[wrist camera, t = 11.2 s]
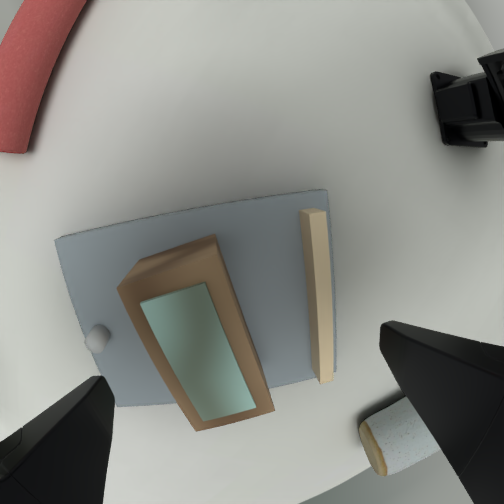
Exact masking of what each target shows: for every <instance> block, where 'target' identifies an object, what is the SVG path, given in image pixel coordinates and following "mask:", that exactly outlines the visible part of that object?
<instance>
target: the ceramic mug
mask: <svg viewBox="0 0 504 504" xmlns="http://www.w3.org/2000/svg"><path fill="white" fill-rule="evenodd" d="M359 434H360V438H361V441H362V444H363V447H364V450H365V452H366V455H367V457H368V459H369V462H370V464H371V466H372V467H373V469H374V471H375V472H376V473H377V474H378V475H380V476H386V475H390V474H393V473H396V472H399V471H401V470H403V469H405V468H407V467H409V466H411V465H413V464H414V463H416V462H418V461H420V460H422V459H424V458H426V457H428V456H430V455H432V454H433V453H435V452H437V451H439V450H440V449H441V448H440V447H439V445H438V444H437V442H436V441H435V439H434V437H433V436H432V434H431V433H430V431H429V430H428V428H427V427H426V425H425V424H424V422H423V421H422V419H421V418H420V416H419V415H418V413H417V412H416V410H415V409H414V407H413V406H412V404H411V403H410V401H409V400H408V398H407V397H404V398H402V399H401V400H399V401H397V402H396V403H394V404H392V405H391V406H389V407H387V408H385V409H383V410H381V411H379V412H377V413H375V414H373V415H372V416H370V417H369V418H367V419H366V420H364V421H363V422H362V423H361V425H360V427H359Z"/></svg>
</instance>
